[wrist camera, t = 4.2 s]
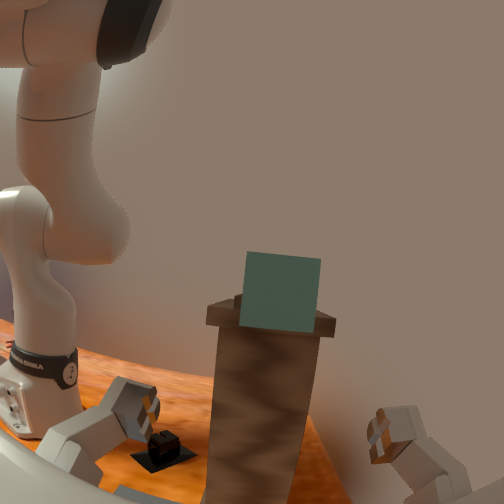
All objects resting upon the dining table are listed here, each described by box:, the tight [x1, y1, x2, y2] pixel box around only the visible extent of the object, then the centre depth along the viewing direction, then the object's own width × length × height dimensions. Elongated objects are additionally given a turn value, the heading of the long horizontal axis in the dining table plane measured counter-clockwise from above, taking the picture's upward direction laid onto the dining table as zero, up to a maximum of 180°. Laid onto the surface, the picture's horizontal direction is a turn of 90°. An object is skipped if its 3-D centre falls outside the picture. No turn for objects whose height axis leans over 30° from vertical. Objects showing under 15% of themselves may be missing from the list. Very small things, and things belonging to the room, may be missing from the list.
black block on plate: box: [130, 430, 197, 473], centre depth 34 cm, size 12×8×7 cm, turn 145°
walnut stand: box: [200, 294, 336, 504], centre depth 27 cm, size 10×14×28 cm
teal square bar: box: [239, 252, 321, 333], centre depth 24 cm, size 4×22×4 cm, turn 177°
